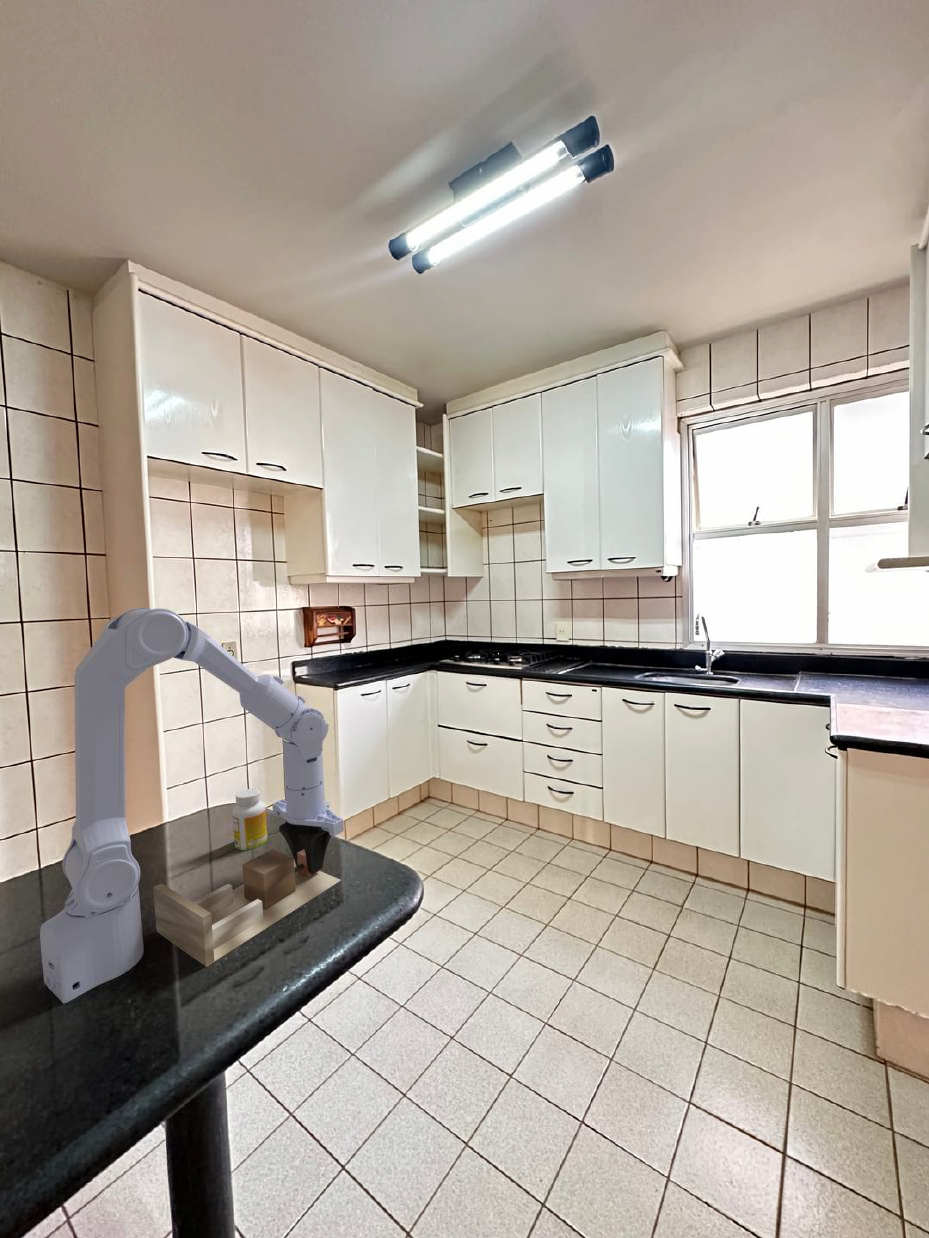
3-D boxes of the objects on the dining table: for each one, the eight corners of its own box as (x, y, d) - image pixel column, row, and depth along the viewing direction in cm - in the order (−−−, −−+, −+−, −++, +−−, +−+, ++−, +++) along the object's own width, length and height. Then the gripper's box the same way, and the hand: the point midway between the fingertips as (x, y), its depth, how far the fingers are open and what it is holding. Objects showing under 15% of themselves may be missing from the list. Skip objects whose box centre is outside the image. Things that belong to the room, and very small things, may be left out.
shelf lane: (206, 972, 62) (202, 917, 61) (157, 936, 69) (153, 887, 68) (341, 884, 79) (339, 841, 79) (291, 863, 86) (288, 823, 85)
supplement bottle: (273, 839, 94) (269, 786, 94) (258, 854, 89) (255, 799, 88) (244, 838, 95) (241, 786, 94) (228, 854, 90) (224, 799, 89)
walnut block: (265, 908, 72) (263, 874, 72) (244, 897, 75) (242, 864, 75) (326, 872, 81) (324, 841, 81) (305, 863, 84) (303, 833, 84)
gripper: (356, 783, 80) (361, 868, 81) (296, 767, 88) (300, 845, 89) (320, 799, 74) (325, 891, 75) (258, 781, 82) (264, 864, 83)
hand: (309, 867), depth 82 cm, fingers closed on walnut block, 2 cm apart
